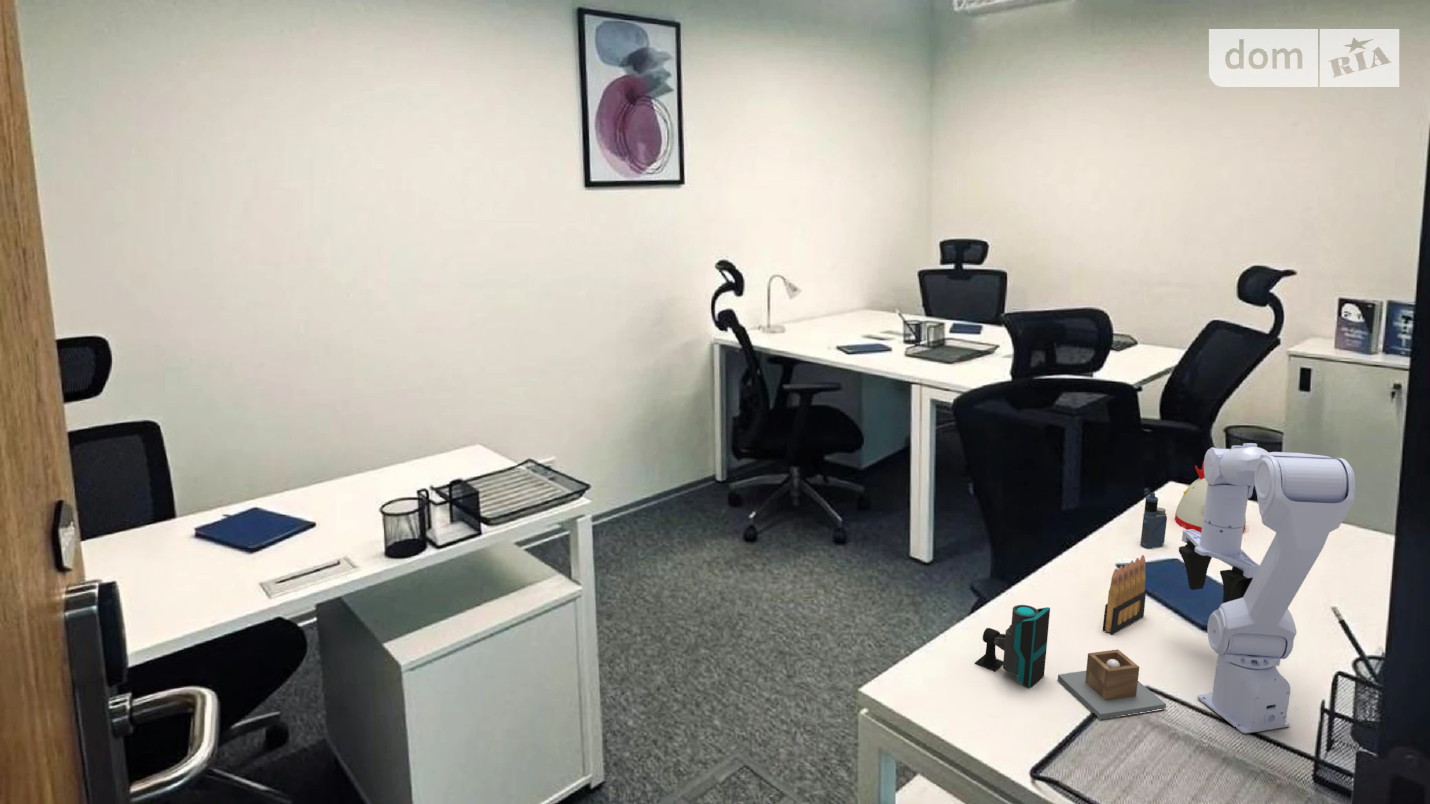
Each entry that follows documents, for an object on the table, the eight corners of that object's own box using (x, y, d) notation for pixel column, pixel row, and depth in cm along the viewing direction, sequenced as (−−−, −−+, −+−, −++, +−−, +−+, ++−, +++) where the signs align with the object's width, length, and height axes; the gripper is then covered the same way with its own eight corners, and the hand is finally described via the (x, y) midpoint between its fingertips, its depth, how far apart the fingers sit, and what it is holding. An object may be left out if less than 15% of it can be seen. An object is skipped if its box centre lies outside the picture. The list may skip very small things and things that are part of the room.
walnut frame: (1136, 696, 137) (1139, 666, 136) (1105, 700, 136) (1108, 671, 135) (1115, 677, 142) (1118, 649, 141) (1085, 681, 141) (1088, 653, 140)
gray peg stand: (1165, 709, 135) (1169, 674, 134) (1099, 720, 133) (1103, 684, 132) (1119, 671, 146) (1122, 637, 144) (1057, 680, 144) (1060, 646, 142)
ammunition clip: (1111, 635, 157) (1118, 572, 154) (1101, 631, 158) (1108, 568, 155) (1144, 616, 163) (1151, 555, 160) (1134, 612, 165) (1140, 552, 161)
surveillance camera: (992, 587, 149) (1051, 607, 142) (988, 653, 152) (1045, 675, 145) (976, 599, 145) (1035, 620, 138) (971, 666, 148) (1029, 689, 141)
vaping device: (1137, 545, 193) (1143, 492, 190) (1157, 541, 194) (1163, 489, 191) (1146, 549, 191) (1152, 496, 188) (1166, 546, 192) (1172, 493, 189)
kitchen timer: (1170, 510, 212) (1178, 449, 208) (1237, 516, 207) (1245, 454, 204) (1180, 533, 199) (1188, 468, 195) (1250, 540, 195) (1260, 474, 191)
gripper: (1169, 507, 150) (1160, 582, 153) (1236, 542, 136) (1224, 623, 139) (1206, 503, 151) (1197, 577, 154) (1276, 537, 137) (1263, 617, 141)
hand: (1212, 599), depth 147 cm, fingers open, 7 cm apart
